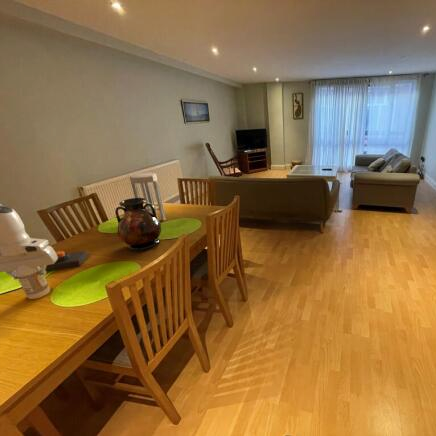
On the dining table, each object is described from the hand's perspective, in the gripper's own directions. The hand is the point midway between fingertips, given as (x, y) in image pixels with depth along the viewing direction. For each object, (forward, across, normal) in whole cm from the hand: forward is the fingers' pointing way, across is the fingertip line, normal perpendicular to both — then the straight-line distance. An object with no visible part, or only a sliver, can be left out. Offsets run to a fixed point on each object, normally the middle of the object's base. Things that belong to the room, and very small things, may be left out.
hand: (31, 276), depth 99 cm
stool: (+10, +34, +72) cm, 80 cm away
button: (+5, -2, +26) cm, 27 cm away
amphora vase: (+10, +34, +34) cm, 49 cm away
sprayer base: (+9, 0, +26) cm, 28 cm away
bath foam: (+9, 0, 0) cm, 9 cm away
